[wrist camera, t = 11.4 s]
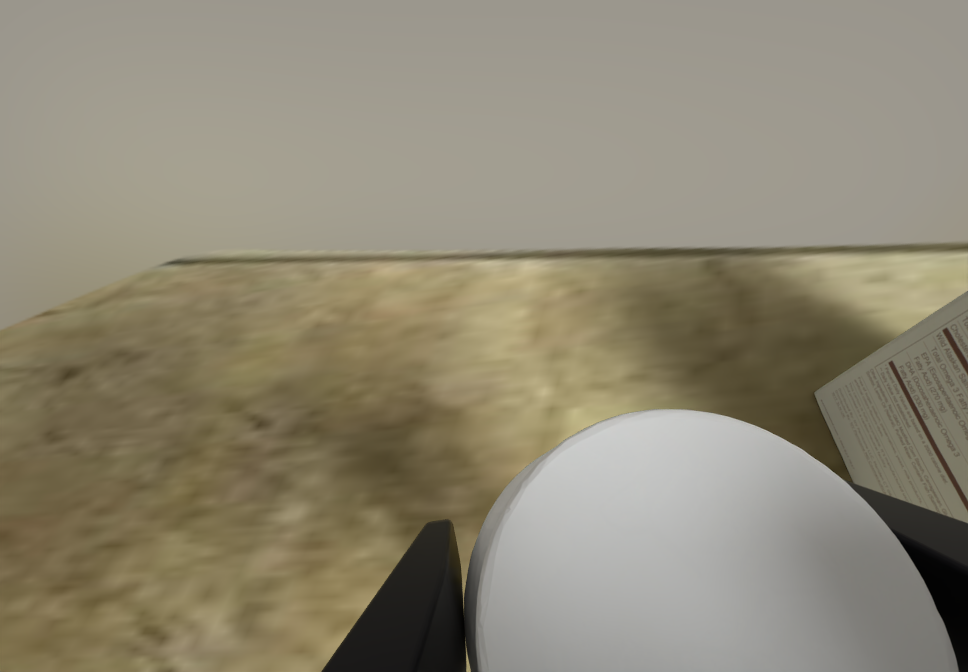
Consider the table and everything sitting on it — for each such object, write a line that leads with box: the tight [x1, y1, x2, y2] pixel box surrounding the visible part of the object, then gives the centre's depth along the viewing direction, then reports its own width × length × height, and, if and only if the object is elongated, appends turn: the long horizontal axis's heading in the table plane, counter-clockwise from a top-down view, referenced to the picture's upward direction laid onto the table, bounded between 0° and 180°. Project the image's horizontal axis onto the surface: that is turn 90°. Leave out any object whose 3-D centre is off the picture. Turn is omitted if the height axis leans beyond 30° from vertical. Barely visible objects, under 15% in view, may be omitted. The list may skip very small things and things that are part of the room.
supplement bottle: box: [464, 409, 959, 672], centre depth 9 cm, size 6×5×10 cm
